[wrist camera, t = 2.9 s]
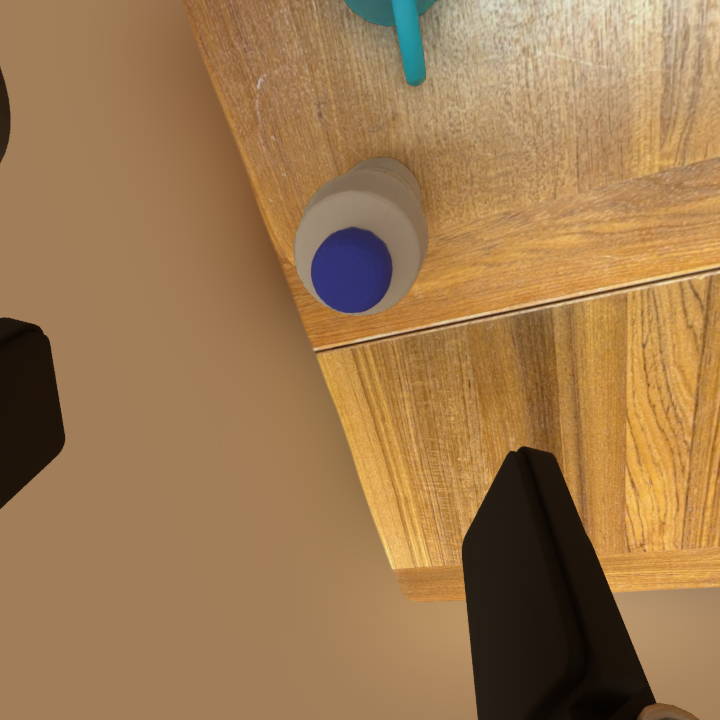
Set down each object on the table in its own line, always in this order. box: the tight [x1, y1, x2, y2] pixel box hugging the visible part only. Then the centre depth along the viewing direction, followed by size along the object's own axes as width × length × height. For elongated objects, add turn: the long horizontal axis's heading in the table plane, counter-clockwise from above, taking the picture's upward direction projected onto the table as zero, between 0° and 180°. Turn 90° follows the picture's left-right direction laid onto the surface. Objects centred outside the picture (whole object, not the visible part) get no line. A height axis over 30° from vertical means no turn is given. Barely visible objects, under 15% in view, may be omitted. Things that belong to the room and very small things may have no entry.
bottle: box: [294, 157, 428, 316], centre depth 26 cm, size 7×7×20 cm
